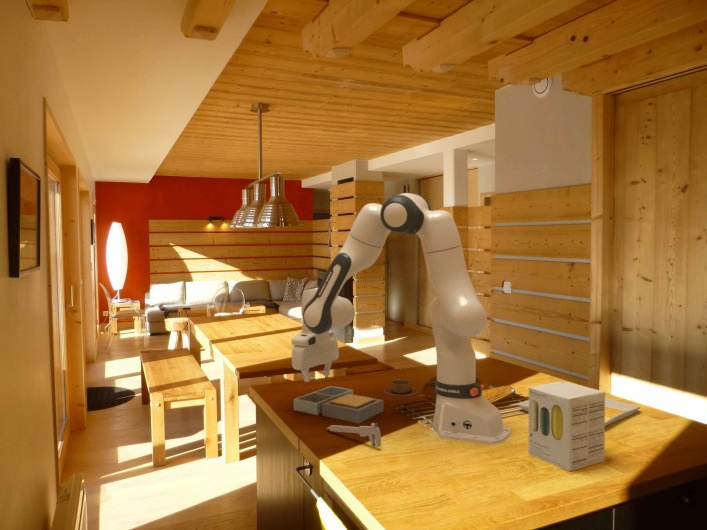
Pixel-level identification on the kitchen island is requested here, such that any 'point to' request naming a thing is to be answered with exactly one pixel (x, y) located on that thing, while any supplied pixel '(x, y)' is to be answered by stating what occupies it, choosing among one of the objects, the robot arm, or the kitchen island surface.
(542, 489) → the kitchen island surface
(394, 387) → the place setting
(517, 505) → the kitchen island surface
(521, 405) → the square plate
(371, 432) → the caliper
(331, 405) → the square frame
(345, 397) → the button
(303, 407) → the tray
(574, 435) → the supplement box
